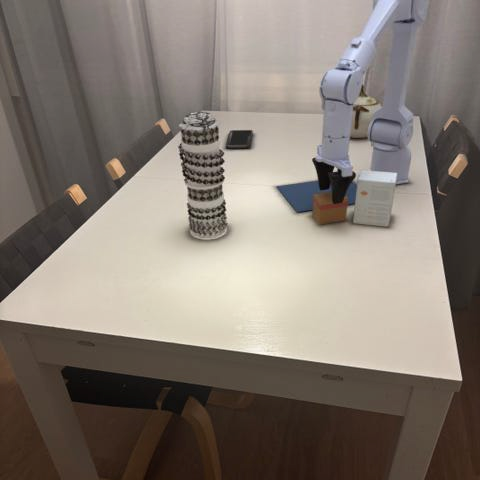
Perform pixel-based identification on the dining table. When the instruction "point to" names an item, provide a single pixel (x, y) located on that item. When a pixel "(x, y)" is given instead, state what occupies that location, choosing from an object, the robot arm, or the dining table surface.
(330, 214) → the packet
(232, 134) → the phone
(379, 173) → the small box
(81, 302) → the dining table surface
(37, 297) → the dining table surface
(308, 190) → the napkin
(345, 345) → the dining table surface
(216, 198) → the decorative candle
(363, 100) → the sugar bowl
